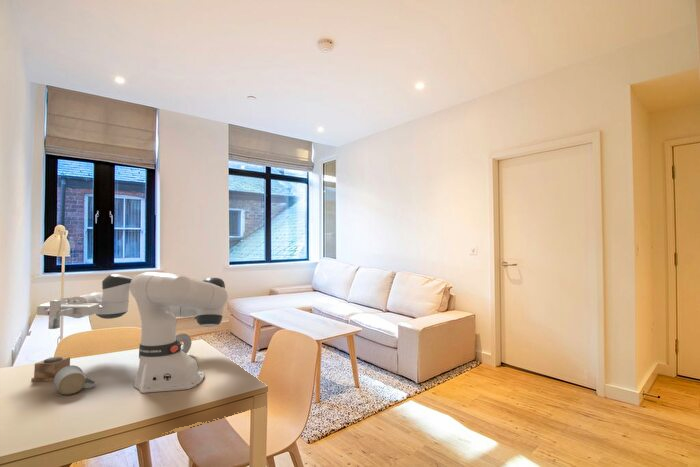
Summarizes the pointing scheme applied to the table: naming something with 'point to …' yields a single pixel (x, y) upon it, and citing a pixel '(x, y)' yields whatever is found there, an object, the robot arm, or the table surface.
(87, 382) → the ceramic mug
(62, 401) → the table surface
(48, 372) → the walnut stand
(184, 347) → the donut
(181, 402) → the table surface
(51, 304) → the brushed metal cylinder
